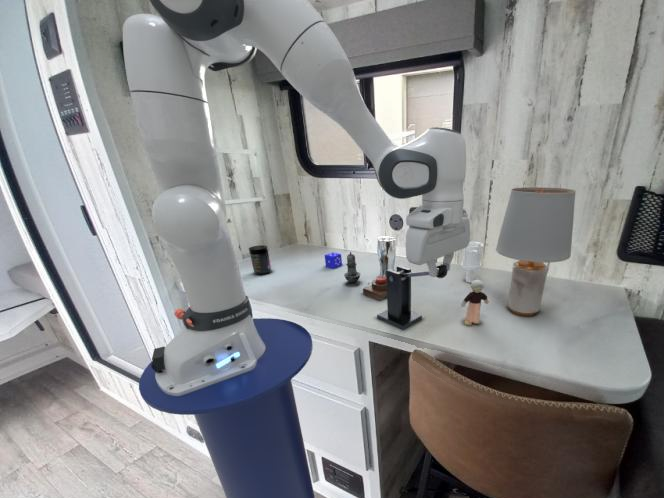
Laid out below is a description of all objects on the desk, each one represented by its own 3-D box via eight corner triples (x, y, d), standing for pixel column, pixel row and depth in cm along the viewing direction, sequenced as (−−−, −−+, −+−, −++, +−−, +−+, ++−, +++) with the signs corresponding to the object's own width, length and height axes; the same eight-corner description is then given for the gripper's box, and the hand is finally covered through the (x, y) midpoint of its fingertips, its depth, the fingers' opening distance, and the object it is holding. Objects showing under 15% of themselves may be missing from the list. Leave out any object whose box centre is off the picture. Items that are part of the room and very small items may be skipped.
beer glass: (375, 275, 120) (374, 237, 113) (392, 273, 122) (391, 235, 116) (382, 281, 114) (380, 241, 108) (399, 278, 116) (398, 239, 110)
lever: (451, 275, 72) (448, 262, 72) (443, 279, 70) (440, 265, 69) (400, 280, 84) (397, 269, 84) (392, 283, 82) (389, 272, 82)
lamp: (482, 296, 101) (495, 187, 86) (541, 297, 100) (563, 186, 86) (497, 325, 83) (516, 194, 69) (568, 326, 83) (602, 193, 68)
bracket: (421, 319, 87) (422, 269, 81) (403, 330, 82) (402, 278, 75) (395, 308, 93) (395, 262, 87) (377, 318, 88) (374, 269, 82)
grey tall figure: (352, 279, 116) (350, 248, 111) (364, 282, 113) (362, 251, 108) (341, 284, 112) (338, 252, 107) (353, 287, 109) (350, 255, 104)
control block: (379, 300, 99) (379, 289, 97) (363, 294, 104) (362, 283, 102) (400, 291, 105) (400, 280, 104) (383, 285, 110) (383, 275, 109)
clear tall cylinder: (467, 285, 109) (471, 244, 103) (456, 279, 115) (459, 239, 109) (483, 282, 112) (488, 242, 106) (471, 276, 118) (475, 237, 112)
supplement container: (269, 275, 121) (264, 249, 117) (252, 276, 121) (246, 250, 116) (274, 269, 128) (269, 245, 123) (257, 270, 127) (251, 245, 122)
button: (381, 285, 101) (381, 280, 100) (374, 283, 103) (373, 278, 102) (389, 282, 103) (389, 277, 102) (381, 280, 105) (381, 275, 105)
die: (325, 266, 131) (324, 255, 128) (334, 263, 134) (333, 252, 132) (333, 268, 128) (332, 257, 126) (342, 265, 132) (341, 254, 130)
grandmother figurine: (466, 328, 82) (470, 284, 77) (458, 322, 85) (461, 279, 80) (489, 322, 85) (494, 279, 80) (480, 316, 88) (485, 275, 83)
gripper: (455, 206, 75) (452, 260, 81) (400, 218, 62) (401, 282, 68) (478, 208, 72) (473, 265, 77) (425, 221, 58) (423, 289, 64)
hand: (439, 273), depth 72 cm, fingers closed on lever, 3 cm apart
